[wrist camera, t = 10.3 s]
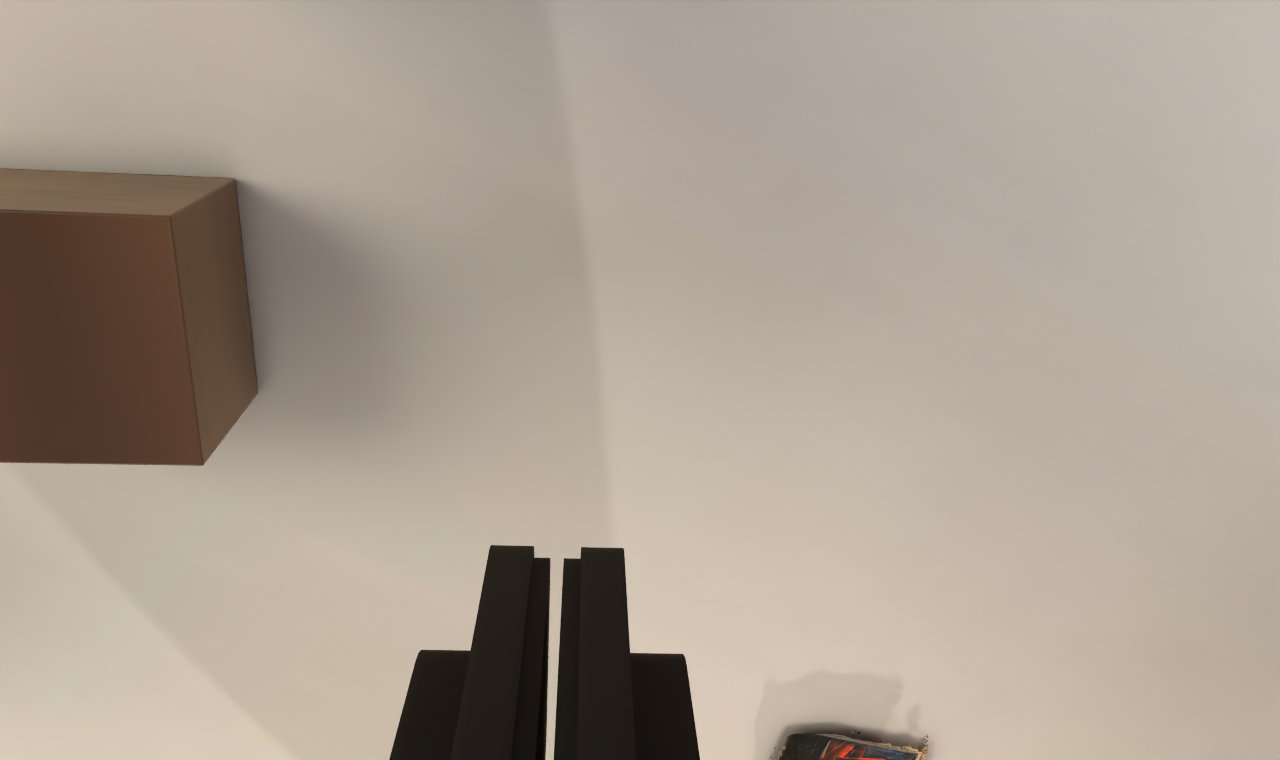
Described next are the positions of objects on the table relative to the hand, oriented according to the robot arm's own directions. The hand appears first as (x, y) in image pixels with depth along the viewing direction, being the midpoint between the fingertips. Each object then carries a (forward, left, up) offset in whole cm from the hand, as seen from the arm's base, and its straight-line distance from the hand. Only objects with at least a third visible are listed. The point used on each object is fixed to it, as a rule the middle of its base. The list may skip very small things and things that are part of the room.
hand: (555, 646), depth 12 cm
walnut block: (+10, 0, -13) cm, 17 cm away
